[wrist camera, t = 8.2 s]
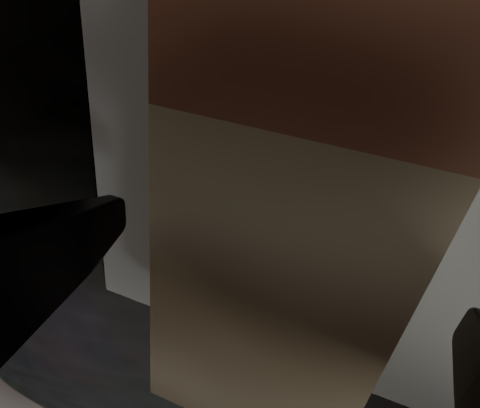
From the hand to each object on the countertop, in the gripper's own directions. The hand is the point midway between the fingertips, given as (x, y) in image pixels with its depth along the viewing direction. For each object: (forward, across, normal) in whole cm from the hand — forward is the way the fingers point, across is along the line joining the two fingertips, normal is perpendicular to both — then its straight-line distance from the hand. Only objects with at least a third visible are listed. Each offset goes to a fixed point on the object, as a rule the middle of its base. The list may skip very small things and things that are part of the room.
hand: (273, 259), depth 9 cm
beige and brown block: (+3, 0, 0) cm, 3 cm away
